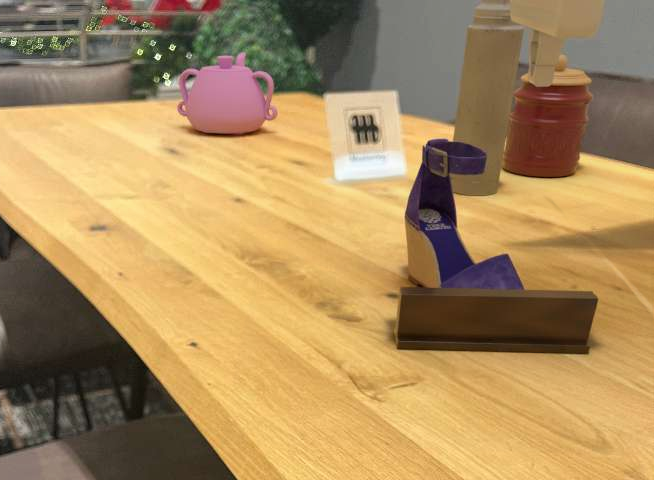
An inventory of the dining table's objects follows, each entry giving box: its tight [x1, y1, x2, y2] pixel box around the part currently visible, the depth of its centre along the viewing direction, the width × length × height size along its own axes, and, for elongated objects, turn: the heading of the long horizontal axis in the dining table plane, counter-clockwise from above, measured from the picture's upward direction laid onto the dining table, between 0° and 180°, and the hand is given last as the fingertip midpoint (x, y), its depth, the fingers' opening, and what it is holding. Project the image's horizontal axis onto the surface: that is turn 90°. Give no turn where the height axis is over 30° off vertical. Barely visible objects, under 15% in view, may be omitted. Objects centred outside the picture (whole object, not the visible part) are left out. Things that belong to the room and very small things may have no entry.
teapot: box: [176, 51, 278, 136], centre depth 161 cm, size 22×22×14 cm
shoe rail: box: [393, 286, 599, 354], centre depth 72 cm, size 18×4×5 cm, turn 87°
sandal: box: [403, 138, 526, 290], centre depth 78 cm, size 8×20×15 cm, turn 20°
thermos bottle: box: [449, 0, 525, 196], centre depth 114 cm, size 8×8×28 cm
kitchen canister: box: [502, 53, 594, 178], centre depth 129 cm, size 13×13×18 cm
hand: (539, 84), depth 74 cm, fingers closed
